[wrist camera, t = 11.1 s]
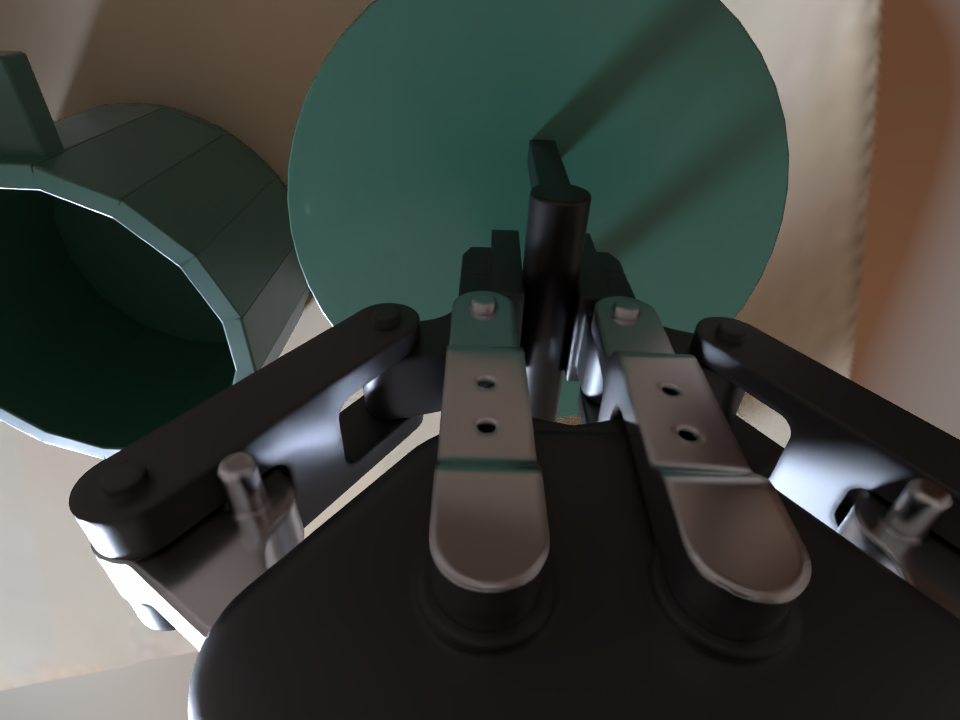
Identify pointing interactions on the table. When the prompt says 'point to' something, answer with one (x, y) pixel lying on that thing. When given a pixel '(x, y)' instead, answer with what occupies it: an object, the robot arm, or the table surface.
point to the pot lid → (540, 161)
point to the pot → (132, 266)
